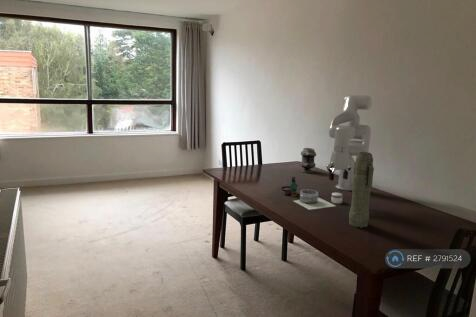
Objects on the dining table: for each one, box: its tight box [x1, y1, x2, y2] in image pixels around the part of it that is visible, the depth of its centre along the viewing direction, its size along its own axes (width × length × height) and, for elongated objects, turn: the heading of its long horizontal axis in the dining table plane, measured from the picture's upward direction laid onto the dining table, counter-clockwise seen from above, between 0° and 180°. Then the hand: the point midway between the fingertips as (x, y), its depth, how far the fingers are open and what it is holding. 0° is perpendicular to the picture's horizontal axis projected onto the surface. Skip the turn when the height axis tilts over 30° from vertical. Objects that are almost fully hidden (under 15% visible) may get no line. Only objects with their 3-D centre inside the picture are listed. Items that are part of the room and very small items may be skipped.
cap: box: [330, 192, 344, 204], centre depth 203 cm, size 6×6×5 cm
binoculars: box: [280, 176, 299, 197], centre depth 216 cm, size 9×11×10 cm
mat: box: [293, 197, 336, 211], centre depth 200 cm, size 18×16×1 cm
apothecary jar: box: [299, 147, 317, 174], centre depth 276 cm, size 12×12×18 cm
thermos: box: [348, 151, 375, 229], centre depth 168 cm, size 9×12×35 cm
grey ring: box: [299, 188, 319, 204], centre depth 203 cm, size 10×10×6 cm
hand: (338, 179), depth 201 cm, fingers open, 9 cm apart
